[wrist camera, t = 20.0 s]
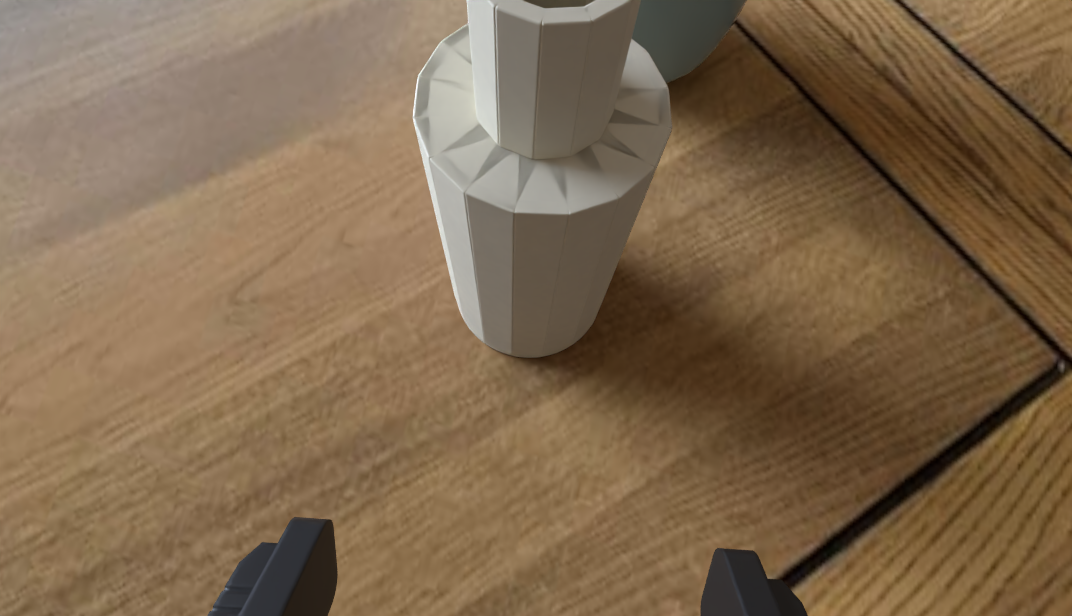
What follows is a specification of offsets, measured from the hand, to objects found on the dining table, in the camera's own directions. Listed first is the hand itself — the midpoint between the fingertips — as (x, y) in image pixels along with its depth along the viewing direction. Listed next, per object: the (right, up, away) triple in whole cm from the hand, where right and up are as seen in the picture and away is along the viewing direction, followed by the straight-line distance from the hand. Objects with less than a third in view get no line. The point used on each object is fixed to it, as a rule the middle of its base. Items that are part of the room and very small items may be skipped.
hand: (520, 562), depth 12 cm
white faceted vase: (0, +6, +13) cm, 15 cm away
